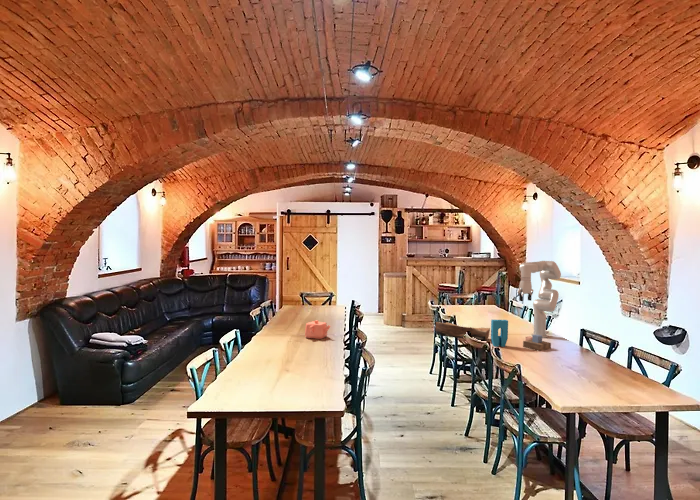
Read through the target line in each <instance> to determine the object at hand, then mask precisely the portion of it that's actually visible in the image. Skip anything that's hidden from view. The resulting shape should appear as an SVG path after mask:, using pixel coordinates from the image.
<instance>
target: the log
mask: <svg viewBox="0 0 700 500" xmlns="http://www.w3.org/2000/svg"><path fill="white" fill-rule="evenodd" d="M434 328H435V333H436V334H437V335H439V336H441V337H449V338H454V339H455V338H456V339H464V338H463V335H464V334H466V332H467V331H470V332H471V336H472V337H474V338H476V339H479V340H478V341H480V340H481V341H484V340H485V341H486V340H489V336H490V334H491V327H471V326H470V327H469V326H460V325H457V324H454V323H450V322H447V321H446V322H440V321H435V327H434ZM464 340H465V339H464Z"/></svg>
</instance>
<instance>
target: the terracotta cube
mask: <svg viewBox="0 0 700 500" xmlns="http://www.w3.org/2000/svg"><path fill="white" fill-rule="evenodd" d="M527 340H532V335H531V336H530V335H529V336H525V340H524V341H527Z"/></svg>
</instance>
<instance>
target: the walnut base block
mask: <svg viewBox="0 0 700 500" xmlns="http://www.w3.org/2000/svg"><path fill="white" fill-rule="evenodd" d="M522 344H523V345H522V347H523V348H525V349H528V350H534V351H537V352H541V351H547V350H552V349H551V348H552V343H551V342H548V341H546V340H545V341H544V340H542V342H541V343H536V342H532V340H527V341H525V340H523V342H522Z"/></svg>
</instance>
